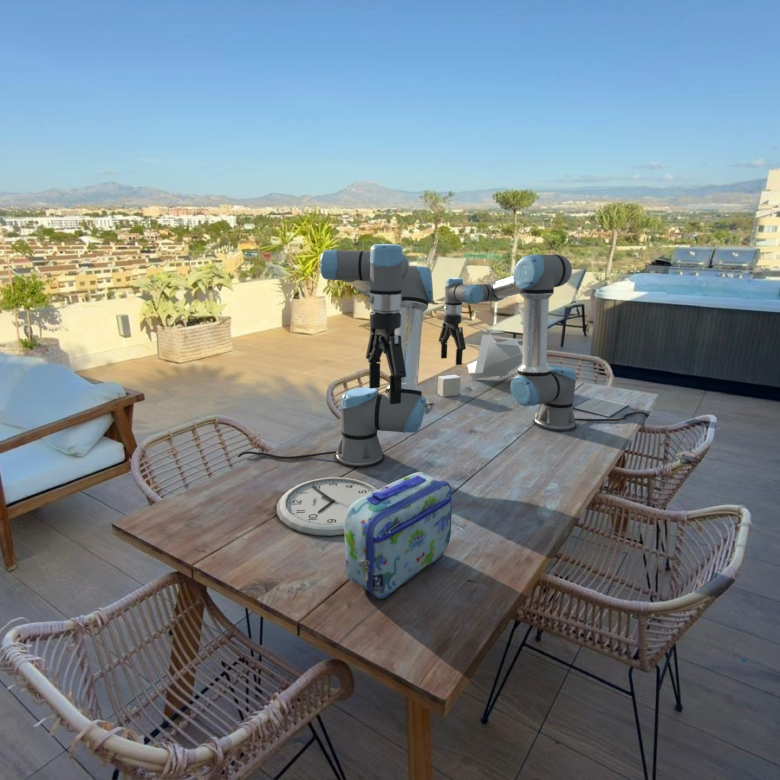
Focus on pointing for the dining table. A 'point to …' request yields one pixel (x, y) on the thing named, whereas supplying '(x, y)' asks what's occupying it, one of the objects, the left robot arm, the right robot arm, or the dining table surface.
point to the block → (448, 385)
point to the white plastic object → (496, 357)
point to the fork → (429, 402)
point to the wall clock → (321, 504)
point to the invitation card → (601, 406)
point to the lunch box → (397, 532)
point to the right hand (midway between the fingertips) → (451, 361)
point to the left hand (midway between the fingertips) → (384, 395)
